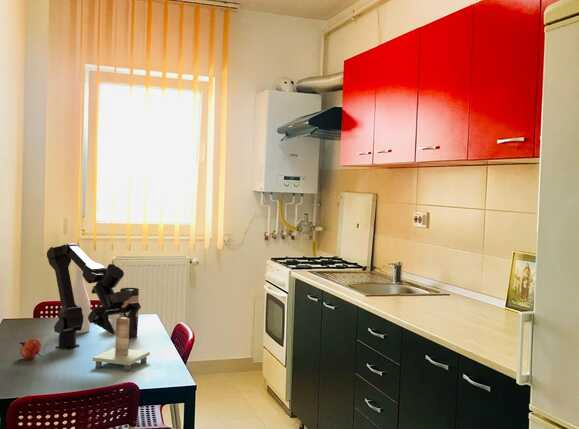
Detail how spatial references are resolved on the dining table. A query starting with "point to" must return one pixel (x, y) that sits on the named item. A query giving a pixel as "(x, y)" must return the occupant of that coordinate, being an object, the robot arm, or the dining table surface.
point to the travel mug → (136, 299)
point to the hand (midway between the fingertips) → (124, 331)
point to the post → (122, 336)
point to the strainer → (113, 320)
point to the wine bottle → (81, 299)
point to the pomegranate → (30, 349)
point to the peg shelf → (121, 358)
